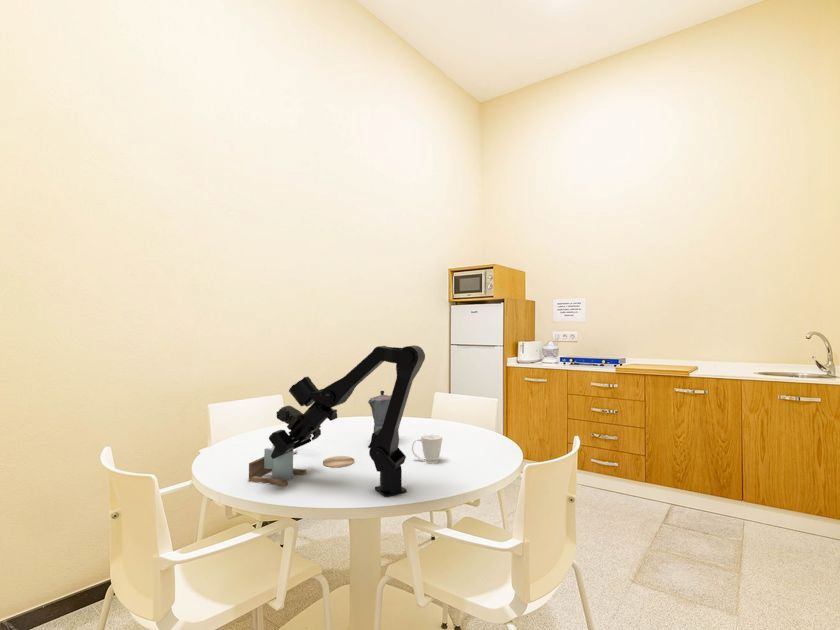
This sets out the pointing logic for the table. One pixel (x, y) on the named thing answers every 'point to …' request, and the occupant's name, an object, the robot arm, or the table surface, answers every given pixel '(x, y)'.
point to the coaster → (338, 461)
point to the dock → (258, 470)
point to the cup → (430, 447)
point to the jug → (279, 464)
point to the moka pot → (379, 409)
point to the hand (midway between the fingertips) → (278, 454)
